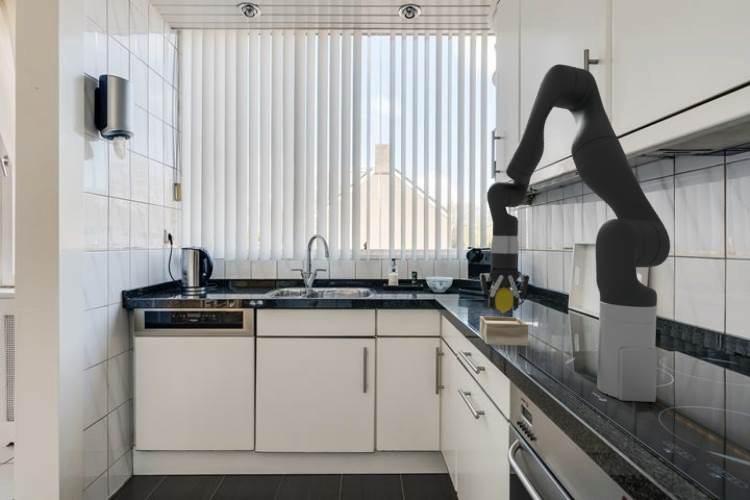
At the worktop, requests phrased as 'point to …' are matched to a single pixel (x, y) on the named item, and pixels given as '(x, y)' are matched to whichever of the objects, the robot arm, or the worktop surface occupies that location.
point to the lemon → (503, 299)
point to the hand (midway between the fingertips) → (503, 309)
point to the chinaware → (439, 283)
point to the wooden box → (503, 330)
